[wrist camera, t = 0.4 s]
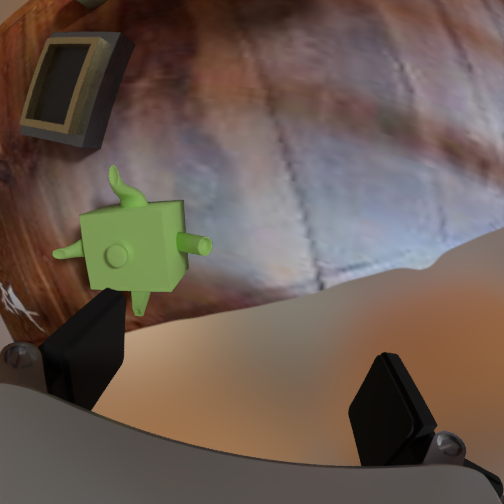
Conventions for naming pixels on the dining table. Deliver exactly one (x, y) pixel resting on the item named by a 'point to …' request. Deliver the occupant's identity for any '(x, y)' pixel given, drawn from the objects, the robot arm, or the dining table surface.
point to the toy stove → (75, 87)
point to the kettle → (135, 244)
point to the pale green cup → (92, 3)
